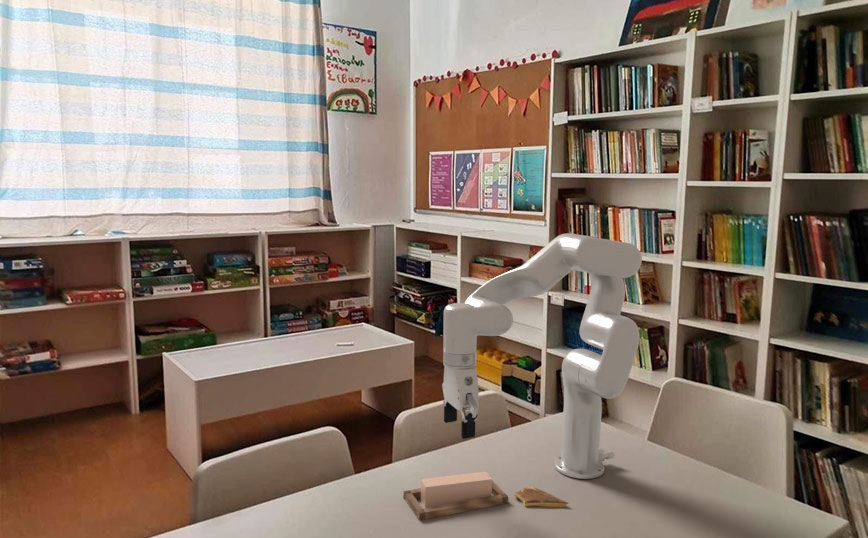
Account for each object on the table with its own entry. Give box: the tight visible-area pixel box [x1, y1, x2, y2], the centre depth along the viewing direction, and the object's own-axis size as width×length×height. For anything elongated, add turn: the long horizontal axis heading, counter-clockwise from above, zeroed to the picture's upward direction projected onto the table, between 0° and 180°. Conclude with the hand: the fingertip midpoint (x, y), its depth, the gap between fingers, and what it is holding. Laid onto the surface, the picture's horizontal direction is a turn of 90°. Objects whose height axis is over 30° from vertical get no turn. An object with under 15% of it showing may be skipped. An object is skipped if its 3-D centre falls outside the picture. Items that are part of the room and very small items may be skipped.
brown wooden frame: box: [402, 480, 509, 521], centre depth 149 cm, size 22×10×2 cm, turn 112°
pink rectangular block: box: [420, 471, 493, 509], centre depth 149 cm, size 16×4×6 cm, turn 106°
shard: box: [513, 486, 569, 508], centre depth 149 cm, size 11×8×2 cm
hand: (459, 429), depth 148 cm, fingers open, 9 cm apart
